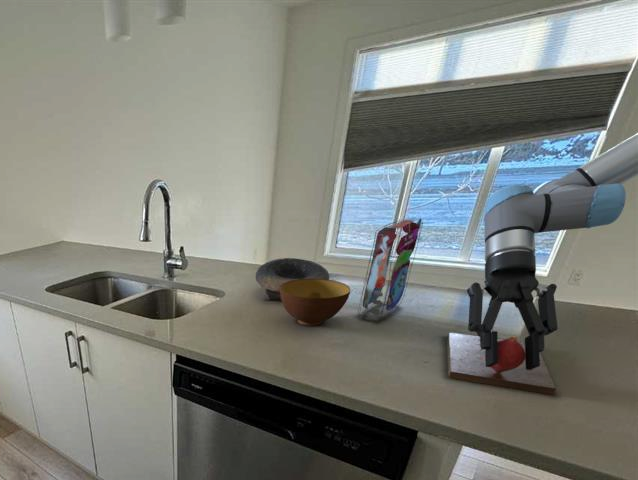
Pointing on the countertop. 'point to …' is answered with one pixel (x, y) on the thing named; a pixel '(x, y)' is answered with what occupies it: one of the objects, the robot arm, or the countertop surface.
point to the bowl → (313, 299)
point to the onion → (509, 355)
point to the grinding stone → (287, 274)
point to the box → (382, 261)
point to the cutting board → (471, 366)
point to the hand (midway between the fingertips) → (511, 366)
